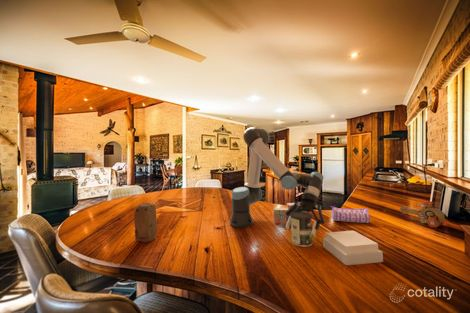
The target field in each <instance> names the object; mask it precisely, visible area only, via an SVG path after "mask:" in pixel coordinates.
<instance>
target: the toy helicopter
mask: <svg viewBox="0 0 470 313" xmlns="http://www.w3.org/2000/svg"><path fill="white" fill-rule="evenodd" d="M431 204H433V202H430V203H427V202H425V201H423V202H421V205H420V204H418V205H417V207H420V206H421V208H420V209H416V208H409V207H408V206H405V205H403V206H400V207H399V211H400V213H402V214H404V215H406V214H410V215H415V216H417V217H418V218H419V220H420V223H422V224H427V225H428V226H429V227H431V228H438V227H439V226H443V225H445V223H446V222H445V213H444V212H443V211H442V210H441V209H438V208H436V207H432V206H430V205H431Z"/></svg>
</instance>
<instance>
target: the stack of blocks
mask: <svg viewBox="0 0 470 313" xmlns="http://www.w3.org/2000/svg"><path fill="white" fill-rule="evenodd" d="M294 203H295V202H286V207H273V221H274V224H275V225H286V224H287V221H286V220H287V217H288V216H287V215H286V212H287V211H288V210H289V209H290V208H291V207H292V206H293V205H294ZM299 206H300V205H299ZM299 206H298V207H299ZM298 207H297V208H298ZM297 208H296V209H297ZM301 209H302V208H301ZM302 212H305V213H309V212H307V211H302Z"/></svg>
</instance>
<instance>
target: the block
mask: <svg viewBox="0 0 470 313" xmlns="http://www.w3.org/2000/svg"><path fill="white" fill-rule="evenodd" d="M133 221H134V222H133V223H134V228H135V229H134V238H135V241H137V242H140V241H141V242H142V243H149V242H152V241H153V240H155V238H156V235H157V233H158V232H157V228H158V225H157V224H158V222H157V207H156V204H155V203H153V202H152V203H150V202H146V203H145V202H143V203H140V204H139V205H137V206H136V207H135V209H134V213H133ZM141 242H140V243H141Z"/></svg>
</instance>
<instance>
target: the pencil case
mask: <svg viewBox="0 0 470 313" xmlns="http://www.w3.org/2000/svg"><path fill="white" fill-rule="evenodd" d="M330 207H331V219H332V221H334V222H346V223H357V224H359V223H360V224H369V223H370V222H371V216H370V213H369V208H368V207H367V208H365V207H363V208H338V207H336V206H330Z"/></svg>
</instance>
